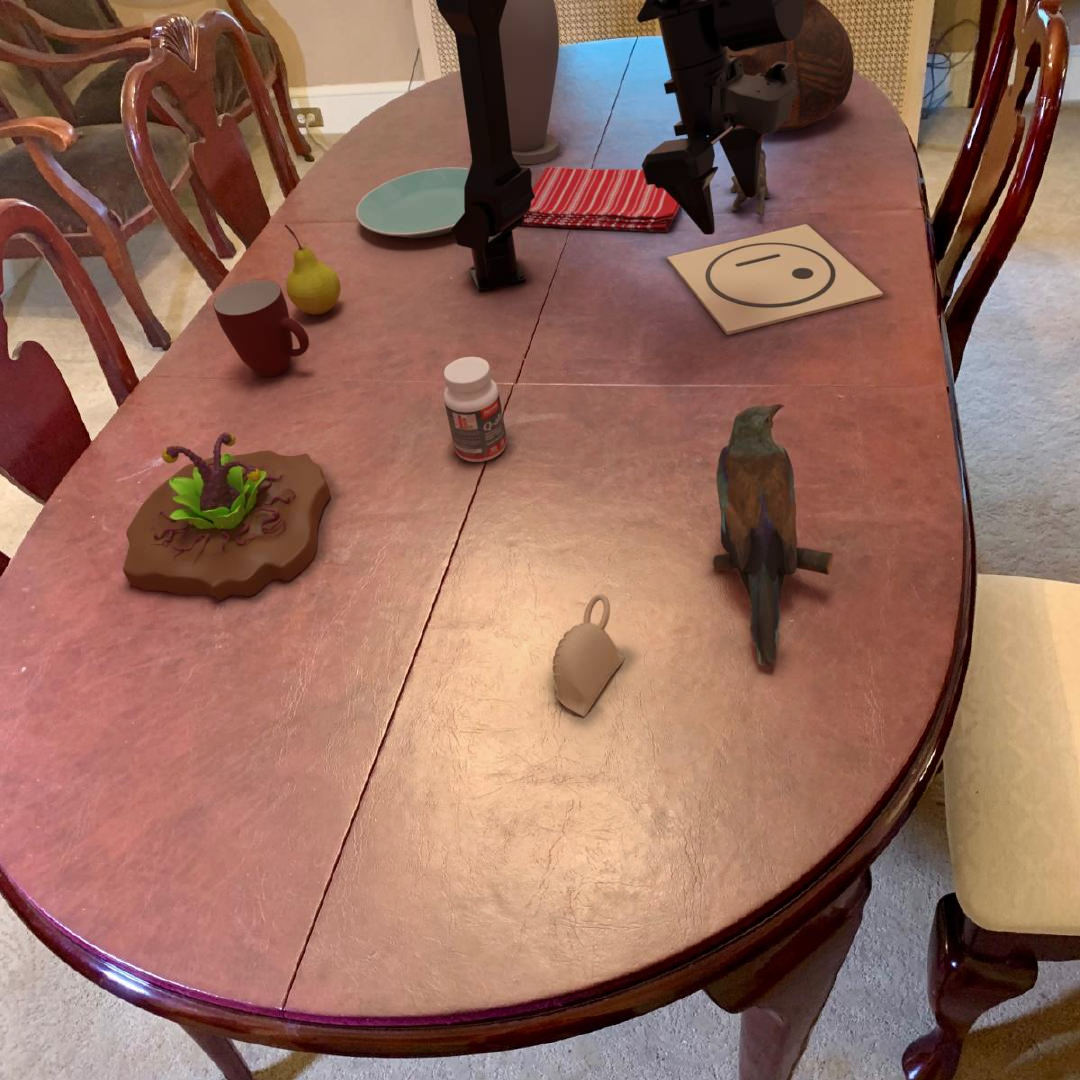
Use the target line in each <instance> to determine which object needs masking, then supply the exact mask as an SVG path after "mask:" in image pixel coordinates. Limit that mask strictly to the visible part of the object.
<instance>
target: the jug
mask: <svg viewBox="0 0 1080 1080" xmlns="http://www.w3.org/2000/svg"><path fill="white" fill-rule="evenodd" d="M804 3H805V13H804V21H803V25H802V29H801V31H800V33H799V35H798V36H797V38H796V39H794V40H791V41H786V42H781V43H776V44H771V45H766V46H761V47H757V48H752V49H747V50H742V51H737V52H735V51H732V50H731V49H730V48H728V46H727V49H728V54H729V59H730V58H735V57H738V59H739V61H741V62H742V66H743V71H744V73H745V75H752V76H756V75H757V74H758V73H763V77H764V76H765V74H766V73H767V71H768V70H769V68H770V67H771V66H772V65H774V64H775V63H776V62H778V61H782V62H787V63H791V65H792V68H793V72H794V76H795V79H796V81H797V88H798V89H799V95H798V96H797V97H796V98H795V99H794V100H792V106H791V112H790V119H789V120H788V121H787V122H784V123H783V124H781V125H780V126H779V127H778V129H777V131H776V132H785V131H794V130H800V129H803V128H806V127H808V126H810V125H811V124H813V123H816V122H818V121H820V120H822V119H824V118H826V117H828V116H829V115H830V114H832V113H833V112H834V111H836V109H838V108H839V107H840V106H841V105H842V104H843V102H845V100H846V98H847V96H848V94H849V92H850V89H851V87H852V82H853V77H854V76H853V75H854V66H855V65H854V64H855V63H854V61H855V60H854V50H853V45H852V43H851V39H850V36H849V34H848V32H847V30H846V28H845V26H844V25H843V24H842V22H841V21H840V20H839V18H838V17H837V16H836V15H835V14H834V13H833V12H832V11H831V10H830V9H829V8H828V7H826V5H824V4H823V3H822V2H821V1H820V0H804Z"/></svg>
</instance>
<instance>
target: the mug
mask: <svg viewBox="0 0 1080 1080" xmlns="http://www.w3.org/2000/svg"><path fill="white" fill-rule="evenodd" d="M212 306H213V310H214V312H215V316H216V318H217V320H218V323H219V325H220V327H221V329H222V331H223V333H224V334H225V336H226V337H227V339H228V341H229V342H230V344H231V346H232V347H233V349H234V350H235V352H236V354H237V355H238V357H239V358H240V360H241V361H242V362H243V363H244V364H245V365H246V366H247V367H248V368H249V369H251V370H252V371H253V372H254V373H255V374H257V375H259V376H260V377H263V378H273V377H278V376H281V375H282V374H284V373H285V372H286V371H288V369H289V368H290V364H291V360H292V358H295V357H296V358H297V357H300V356H302V355H304V354H305V353H306V352H307V351H308V350H309V347H310V339H309V336H308V333H307V332H306V330H305V328H304V327H303V326H302V325H301V324H300V323H299V322H298V321H297V320H295V319H293V318H291V317H290V313H289V308H288V304H287V302H286V299H285V295H284V293H283V290H282V287H281V286H280V285H279V284H278V283H277V282H275V281H272V280H270V279H269V280H268V279H253V280H246V281H243V282H240V283H236V284H233V285H232V286H230V287H227V288H226V289H224V290H222V291H221V292H220V293H219V294H218V295H217V296H216V297H215V298H214V301H213V305H212ZM293 335H294V336H295V337H296V339H297V342H298V345H299V348H294V342H293Z"/></svg>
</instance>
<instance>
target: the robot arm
mask: <svg viewBox="0 0 1080 1080" xmlns="http://www.w3.org/2000/svg"><path fill="white" fill-rule="evenodd" d="M506 2H507V0H435V3H436V6H437V10H438V12H439V14H440V16H441V17H442V18H443V20H444V21H445V22H446V24H447V25H448V27H449V28H450V30H451V31H452V32H453V35H454V37H455V46H456V53H457V60H458V66H459V73H460V80H461V89H462V95H463V105H464V110H465V111H464V112H465V119H466V125H467V133H468V141H469V147H470V155H471V163H470V167H469V173H468V176H467V179H466V182H465V186H464V211H465V213H464V214H463V215H462V217H461V218H460V219H459V220H458V221H457V223H456V224H455V225H454V226H453V228H452V229H451V231H452V232H451V233H452V236H453V238H454V240H455V243H456V244H457V245H458V246H460V247H464V248H467V249H470V250H471V256H472V257H471V258H472V262H473V266H471V267H469V275H470V276H471V278H472V281H473V282H474V285H475V287H476V289H477V291H478V292H479V293H484V292H489V291H493V290H497V289H500V288H506V287H509V286H510V287H511V286H513V285H518V284H522V283H525V282H526V276H525V274H524V273H523V271H522V269H521V267H520V265H519V263H518V261H517V255H516V248H515V247H516V246H515V240H514V232H513V230H515V229H516V228H517V227H519V226H522V225H521V224H523V223H524V217H525V214H526V213H527V212H528V210H529V209H530V207H531V200H533V199H534V198H535V195H534V193H533V190H532V189H533V187H532V186H533V185H532V184H533V183H532V180H533V179H532V177H533V172H532V170H531V168H530V167H522V166H521V164H519V163H518V162H517V160H516V159H515V158H514V156H513V154H512V148H511V139H510V129H509V120H508V110H507V101H506V91H505V82H504V72H503V63H502V54H501V44H500V35H499V26H500V22H501V19H502V15H503V12H504V9H505V5H506ZM804 13H805V3H804V0H645V2H644V4H643V6H642V7H641V8H640V11H639V12H638V14H637V15H636V20H637V22H639V23H645V22H649V21H653V20H658V25H659V29H660V33H661V37H662V42H663V46H664V51H665V56H666V60H667V65H668V69H669V73H670V79H668V80H666V81H665V82H664V83H663V87H664V92H665V95H671V94H675V100H676V104H677V108H678V113H679V118H680V121H679V122H677V123H676V124H674V125H673V130H674V134H675V137H680V136H687V137H685V138H679V139H671V140H664V141H663V142H662V143H660V144H659V145H657V146H656V147H655V148H654V149H652V150H651V151H649V153H647V154H646V156H645V157H644V159H643V161H642V163H641V169H642V170H643V173H644V176H645V180H646V184H647V185H654V184H655V186H656V188H663V189H664V190H665V191H666V192H667V193H668V194H669V195H670V196H671V197H672V198H673V199H674V200H675V201H676V202H677V203H678V204H679V205H680V206H679V207H681V209H682V210H683V211H684V212H685V213H686V214H687V216H688V217H689V218H690V219H691V220H692V222H693V223H694V224H695V225H696V227H697V228H698V229H699V230H700V231H701V233H703V234H704V235H706V236H710V235H713V234H714V233H715V232H716V229H715V216H714V215H715V214H714V207H713V198H712V191H711V181H712V180H713V178H714V176H715V175H716V173H717V171H718V170H719V166H714V163H715V158H716V154H715V153H716V152H715V148H714V145H715V144H716V143H718V142H719V144H720V146H721V148H722V150H723V153H724V154H725V157H726V159H727V161H728V163H729V166H730V168H731V171H732V173H733V174H734V175H733V176H735V177H736V179H737V181H738V183H739V185H740V187H741V189H742V191H743V193H744V195H745V196H746V197H747V199H750V198H749V197H754V196H755V195H756V191H757V181H758V171H759V161H760V153H761V149H762V146H763V140H764V138H765V137H766V135H771V134H774V133H775V132H778V131H777V129H778V127H779V126H780V125H781V124H783V123H784V122H787V121H788V120H789V119H790V112H791V106H792V100H794V99H795V98H796V97H797V96H798V95H799V89H798V88H797V81H796V79H795V76H794V72H793V68H792V65H791V63H787V62H782V61H778V62H776V63H775V64H774V65H772V66H771V67H770V68H769V70H768V71H767V73H766V74H765V76H764V77H763V73H758V74H757V75H756V76H752V75H745V73H744V71H743V66H742V62H741V61H739V59H738V57H735V58H730V59H729V54H728V49H727V46H728V48H730V49H731V50H732V51H735V52H737V51H742V50H747V49H752V48H757V47H761V46H766V45H771V44H776V43H781V42H786V41H791V40H794V39H796V38H797V36H798V35H799V33H800V31H801V29H802V25H803V21H804ZM756 196H757V195H756ZM756 196H755V197H756ZM755 197H754V198H755Z"/></svg>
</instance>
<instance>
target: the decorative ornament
mask: <svg viewBox="0 0 1080 1080" xmlns="http://www.w3.org/2000/svg"><path fill="white" fill-rule="evenodd" d="M599 601H601V602H602V605H603V606H602V607H603V611H602V615H601V618H600V620H599V623H593V622H591V621H592V620H591V617H592V612H593V609H594V608H595V605H596V604H597V603H598V602H599ZM583 614H584V615H583V620H582V622H580V623H579V624H575V625H573V626H572V627H571V628H570V630H567V631H566V632H564V634H563V637H562V638H560V639H559V640H558V643H557V647H556V648H555V651H554V655H553V658H552V663H553V665H552V673H553V680H554V682H555V683H556V684H555V686H554V691H555V692H556V694H555V697H556V699H557V700H558V701H559V702H560V703H561V704H562V705H563V707H565V708H567V710H570V711H572V712H573V713H575V714H577V715H578V716H581V717H583V718H585V716H586V715H587V714H588V712H589V711H590V709H591V708H592V706H593V704H594V703H595V702H596V700H597V698H598V696H599V695H600V693H601V692H602V690H603V688H604V687H605V685H606V684H607V682H608V681H609V680H610V678H611V677H612V676H613V674H614V673H615V672H616V670H617V669H618V668H619V667H620V666H621V665H622V663H623V662H624V661H625V657H624V655H622V654H621V653H620V652H618V651H617V648H616V645H615V644H614V641H613V639H612V638H611V637H610V635H609V634H608V633H607V631H606V630H605V629H606V627H607V626H608V622H609V620H610V615H611V604H610V600H609V598H608V597H607V595H605V594H603V593H597V594H596V595H594V596H593V597H591V598H590V600H589V601H588V603H587V605H586V607H585V610H584V613H583Z"/></svg>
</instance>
